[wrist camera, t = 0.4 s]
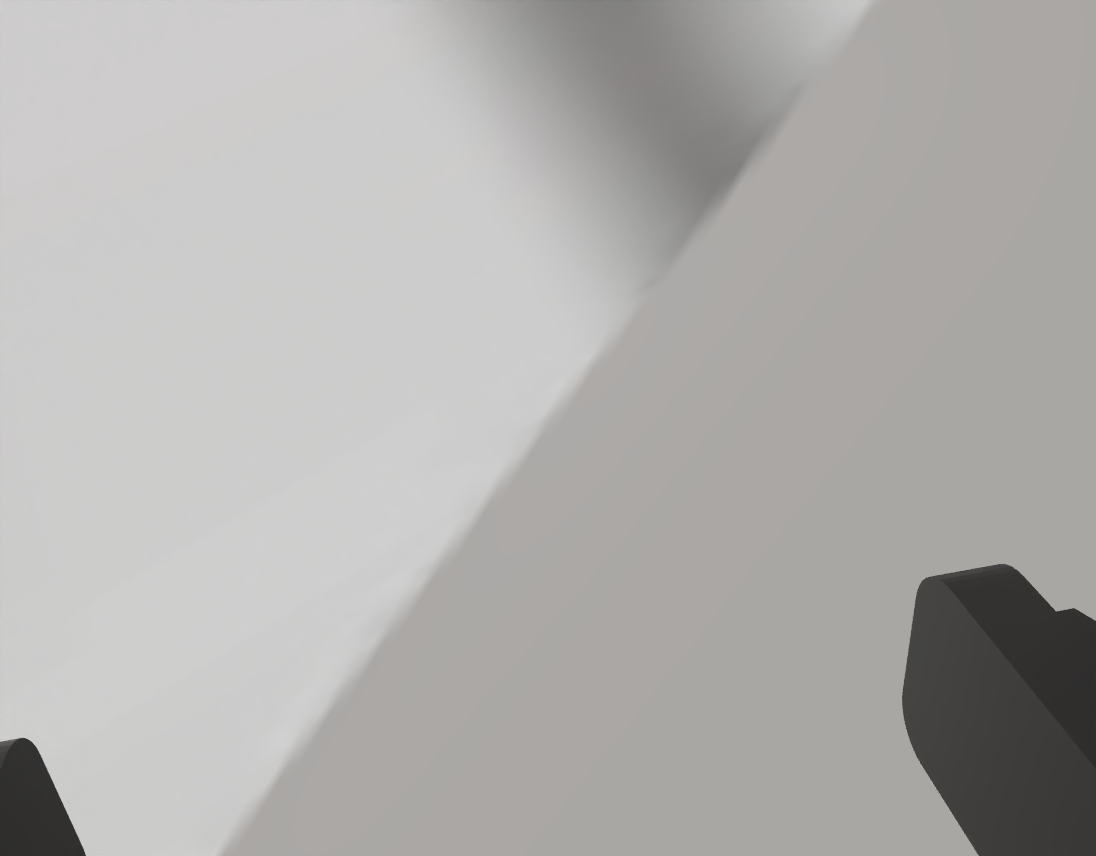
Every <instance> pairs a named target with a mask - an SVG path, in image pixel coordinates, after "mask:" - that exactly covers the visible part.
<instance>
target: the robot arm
mask: <svg viewBox="0 0 1096 856" xmlns="http://www.w3.org/2000/svg"><path fill="white" fill-rule="evenodd" d="M902 702H903V703H902V705H903V714H904V720H905V724H906V729H907V732H908V736H909V739H910V742H911V744H912V747H913V749H914V751H915V753H916V756H917V758H918V759H919V761H920V763H921V765H922V766H923V768H924V769H925V771H926V773H927V774H928V776H929V777H930V779H931V780H932V782H933V784H934V785H935V787H936V788H937V790H938V791H939V793H940V794H941V796H942V798H943V800H944V801H945V802H946V804H947V806H948V807H949V809H950V811H951V812H952V814H953V815H954V817H955V819H956V820H957V821H958V823H959V825H960V827H961V828H962V830H963V831H964V833H965V834H966V836H967V838H968V839H969V841H970V842H971V844H972V845H973V847H974V849H975V850H976V852H977V854H978V855H979V856H1096V621H1095V620H1093V619H1092V618H1090V617H1088V616H1086V615H1085V614H1083V613H1081V612H1080V611H1078V610H1076V609H1074V608H1073V609H1068V610H1063V611H1057V612H1056V611H1055V610H1054V609H1053V608H1052V607H1051V606H1050V605H1049V603H1048V602H1047V601H1046V600H1045V599H1044V598H1043V597H1042V596H1041V595H1040V594H1039V593H1038V591H1037V590H1036V589H1035V588H1034V587H1033V586H1032V585H1031V584H1030V583H1029V582H1028V581H1027V580H1026V578H1025V577H1024V576H1023V575H1022V574H1020V573H1019V572H1018V571H1017V570H1016V569H1014V568H1013V567H1011V566H1009V565H1005V564H998V565H993V566H987V567H982V568H976V569H971V570H965V571H960V572H955V573H949V574H943V575H937V576H933V577H928V578H926V579H924V580H923V581H922V582H921V584H920V586H919V588H918V591H917V596H916V601H915V608H914V616H913V623H912V630H911V637H910V644H909V652H908V658H907V665H906V673H905V679H904V686H903V696H902ZM0 856H86V855H85V852H84V849H83V847H82V845H81V842H80V840H79V838H78V836H77V834H76V832H75V829H74V827H73V825H72V823H71V821H70V819H69V816H68V814H67V812H66V810H65V808H64V805H63V803H62V801H61V799H60V797H59V795H58V792H57V790H56V788H55V786H54V784H53V781H52V779H51V777H50V775H49V773H48V771H47V768H46V766H45V764H44V762H43V760H42V757H41V755H40V753H39V751H38V750H37V748H36V747H35V745H34V744H33V743H32V742H31V741H30V740H28V739H26V738H19V739H13V740H8V741H2V742H0Z"/></svg>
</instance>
